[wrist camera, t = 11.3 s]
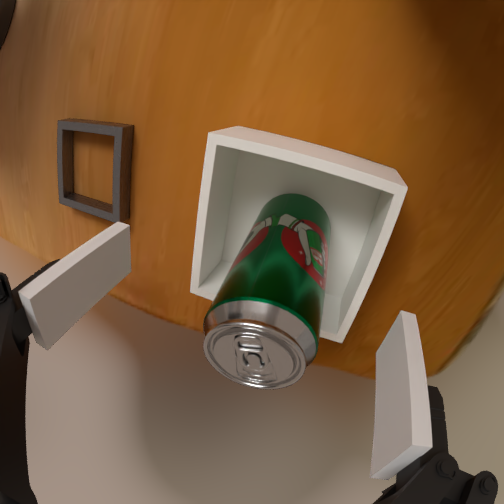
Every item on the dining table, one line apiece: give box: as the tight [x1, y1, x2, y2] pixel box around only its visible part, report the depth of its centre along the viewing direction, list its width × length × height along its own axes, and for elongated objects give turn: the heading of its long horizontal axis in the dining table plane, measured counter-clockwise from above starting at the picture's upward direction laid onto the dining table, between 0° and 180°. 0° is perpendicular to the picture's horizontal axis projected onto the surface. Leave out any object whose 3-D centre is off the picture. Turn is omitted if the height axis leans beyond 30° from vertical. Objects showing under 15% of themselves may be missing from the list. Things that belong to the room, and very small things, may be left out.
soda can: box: [203, 193, 331, 389], centre depth 17 cm, size 5×5×12 cm
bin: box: [190, 126, 408, 343], centre depth 21 cm, size 11×11×5 cm
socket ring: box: [57, 118, 134, 223], centre depth 25 cm, size 9×9×2 cm
